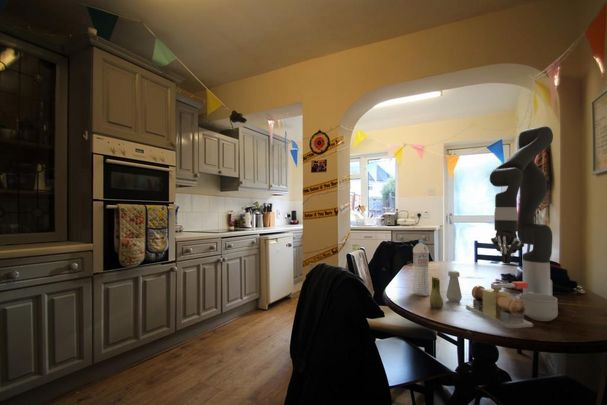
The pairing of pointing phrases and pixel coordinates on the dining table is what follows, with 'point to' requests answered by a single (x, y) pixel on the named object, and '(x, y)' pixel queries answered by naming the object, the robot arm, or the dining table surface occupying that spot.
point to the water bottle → (421, 269)
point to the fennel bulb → (436, 294)
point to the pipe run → (499, 307)
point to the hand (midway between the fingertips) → (506, 263)
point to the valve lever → (510, 285)
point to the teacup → (540, 306)
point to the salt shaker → (454, 287)
